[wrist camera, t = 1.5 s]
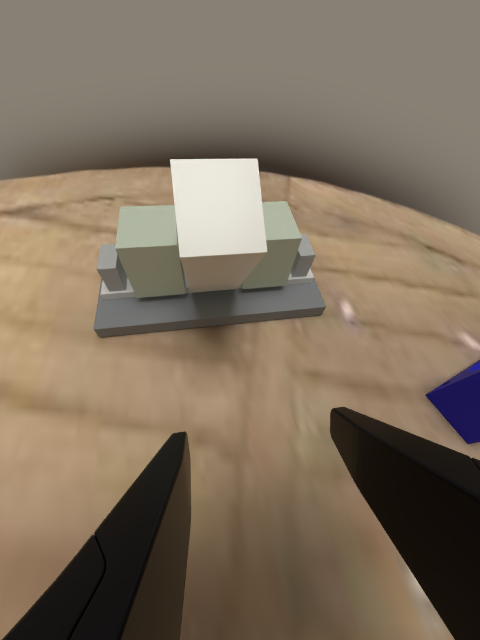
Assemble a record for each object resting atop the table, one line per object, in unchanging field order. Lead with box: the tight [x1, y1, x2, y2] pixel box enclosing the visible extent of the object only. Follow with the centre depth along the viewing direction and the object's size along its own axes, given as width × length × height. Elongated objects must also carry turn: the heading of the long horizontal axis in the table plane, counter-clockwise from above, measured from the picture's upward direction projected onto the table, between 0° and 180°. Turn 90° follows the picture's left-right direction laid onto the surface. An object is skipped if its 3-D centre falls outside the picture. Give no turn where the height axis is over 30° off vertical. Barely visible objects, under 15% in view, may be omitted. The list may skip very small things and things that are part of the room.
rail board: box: [94, 201, 326, 338], centre depth 25 cm, size 9×22×8 cm, turn 99°
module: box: [170, 159, 267, 293], centre depth 19 cm, size 5×4×12 cm
